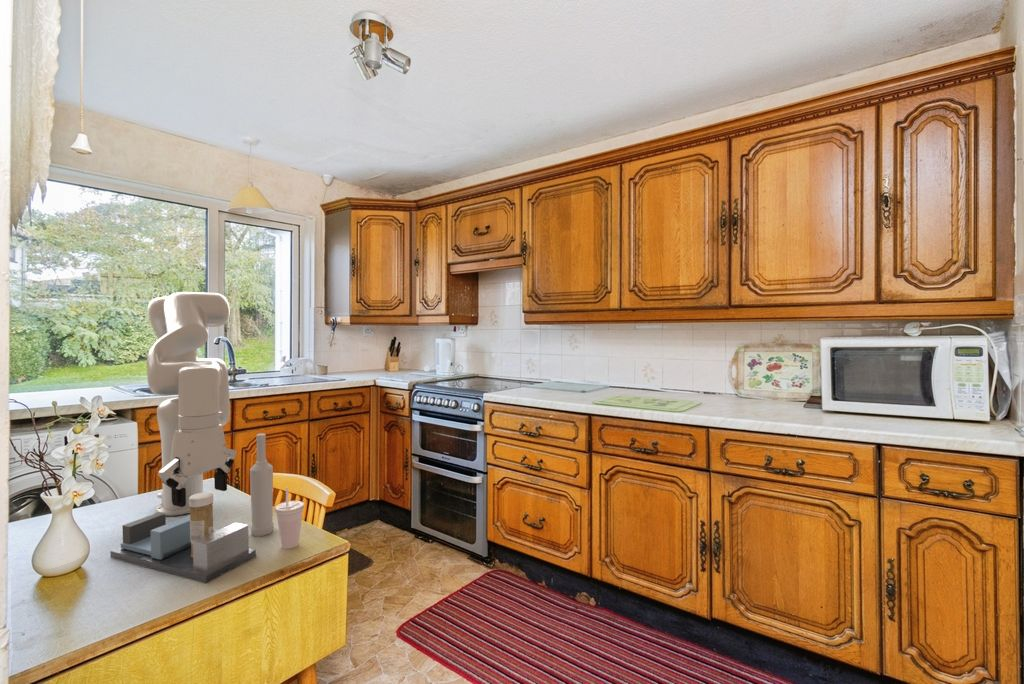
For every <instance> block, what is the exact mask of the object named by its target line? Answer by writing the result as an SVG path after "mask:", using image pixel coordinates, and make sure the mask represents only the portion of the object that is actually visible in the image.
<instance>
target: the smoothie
mask: <svg viewBox="0 0 1024 684" xmlns="http://www.w3.org/2000/svg"><path fill="white" fill-rule="evenodd" d="M304 509H305V502H303V501H300V500H289V487H286V488H285V501H284V502H280V503H279V504H277V505H276V506H274V513H275V514H276V519H277V527H278V531H279V538H280V544H281V548H282V549H284V550H290V549H294V548H296V547H298V546H299V544H300V536H301V535H300V534H301V526H302V517H303V512H304V511H303V510H304Z"/></svg>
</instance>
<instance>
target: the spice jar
mask: <svg viewBox="0 0 1024 684" xmlns="http://www.w3.org/2000/svg"><path fill="white" fill-rule="evenodd" d="M213 504H214V493H213V492H207V491H203V493H198V494H194V495H192V496H190V497H189V506H190V513H189V515H190V540H191V557H192V558H193V541H194V540H196V539H199V538H201V537H203V536H205V535H208V534H210V533H212V532H215V531H214V530H215V529H214V517H213V516H214V515H213V514H214V513H213V511H214V510H213Z"/></svg>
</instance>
